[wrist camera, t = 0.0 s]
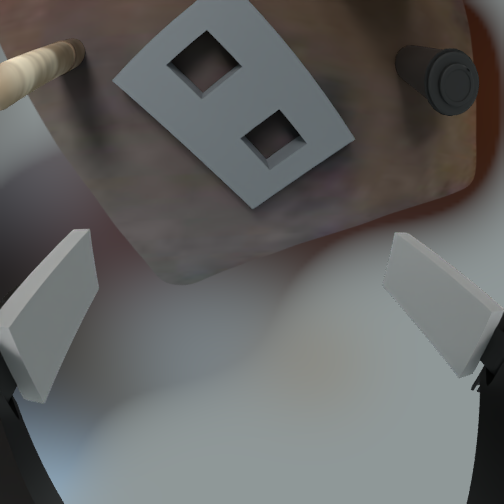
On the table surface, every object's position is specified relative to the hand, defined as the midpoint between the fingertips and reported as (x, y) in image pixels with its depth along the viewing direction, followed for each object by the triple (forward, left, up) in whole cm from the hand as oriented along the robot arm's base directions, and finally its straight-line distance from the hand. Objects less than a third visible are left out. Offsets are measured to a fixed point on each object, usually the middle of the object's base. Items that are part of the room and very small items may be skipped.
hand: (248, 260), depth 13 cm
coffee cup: (-21, +11, -28) cm, 37 cm away
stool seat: (0, +2, -28) cm, 28 cm away
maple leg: (+10, -17, -28) cm, 34 cm away
